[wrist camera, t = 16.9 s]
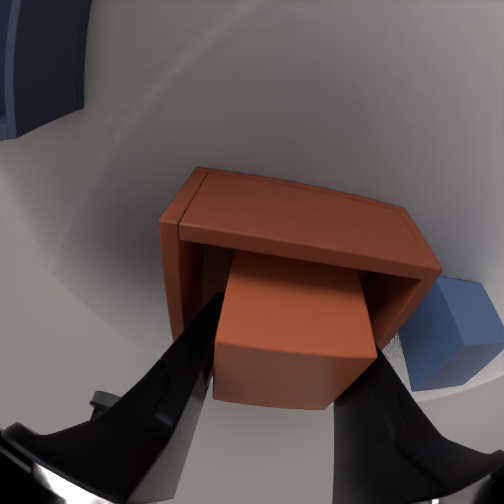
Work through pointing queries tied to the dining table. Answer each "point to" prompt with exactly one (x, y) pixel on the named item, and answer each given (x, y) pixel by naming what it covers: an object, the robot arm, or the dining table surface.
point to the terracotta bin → (291, 242)
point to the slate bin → (40, 62)
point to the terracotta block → (290, 333)
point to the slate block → (450, 335)
